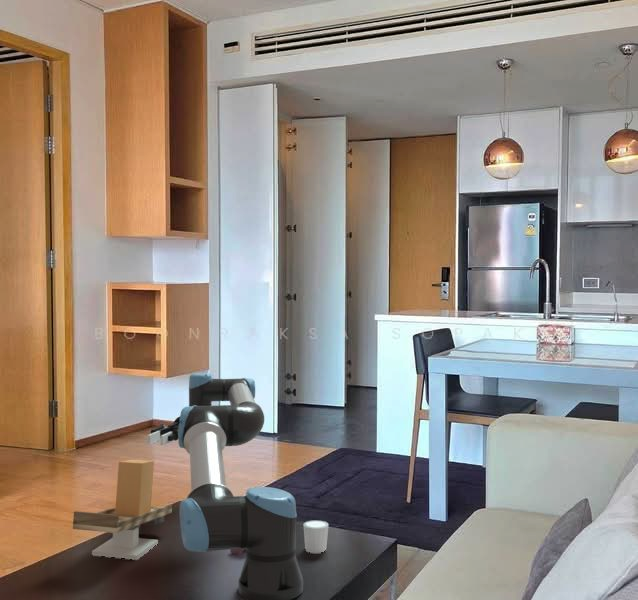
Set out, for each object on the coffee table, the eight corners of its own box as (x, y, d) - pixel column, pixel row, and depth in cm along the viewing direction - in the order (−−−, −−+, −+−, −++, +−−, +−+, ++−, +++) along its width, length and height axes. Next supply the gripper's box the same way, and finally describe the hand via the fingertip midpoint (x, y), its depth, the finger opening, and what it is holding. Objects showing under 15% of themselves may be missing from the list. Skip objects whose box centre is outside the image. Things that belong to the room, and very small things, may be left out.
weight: (138, 516, 194) (142, 463, 196) (115, 514, 196) (118, 461, 198) (150, 512, 201) (153, 461, 203) (127, 510, 203) (131, 459, 204)
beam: (115, 543, 177) (117, 515, 178) (71, 539, 180) (73, 511, 181) (171, 521, 208) (172, 497, 209) (133, 518, 211) (134, 494, 212)
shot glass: (332, 552, 194) (332, 526, 194) (307, 555, 191) (308, 529, 191) (323, 543, 200) (323, 518, 200) (299, 546, 198) (299, 521, 198)
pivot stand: (137, 560, 187) (137, 537, 187) (91, 555, 190) (91, 532, 190) (157, 544, 199) (157, 522, 199) (115, 540, 202) (115, 518, 202)
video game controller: (242, 561, 191) (254, 538, 190) (228, 552, 192) (239, 530, 191) (253, 548, 201) (264, 526, 200) (239, 539, 202) (250, 518, 201)
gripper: (212, 438, 232) (181, 454, 209) (164, 435, 236) (129, 451, 213) (212, 415, 232) (181, 428, 209) (164, 412, 236) (129, 426, 213)
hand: (155, 440), depth 211 cm, fingers open, 3 cm apart
